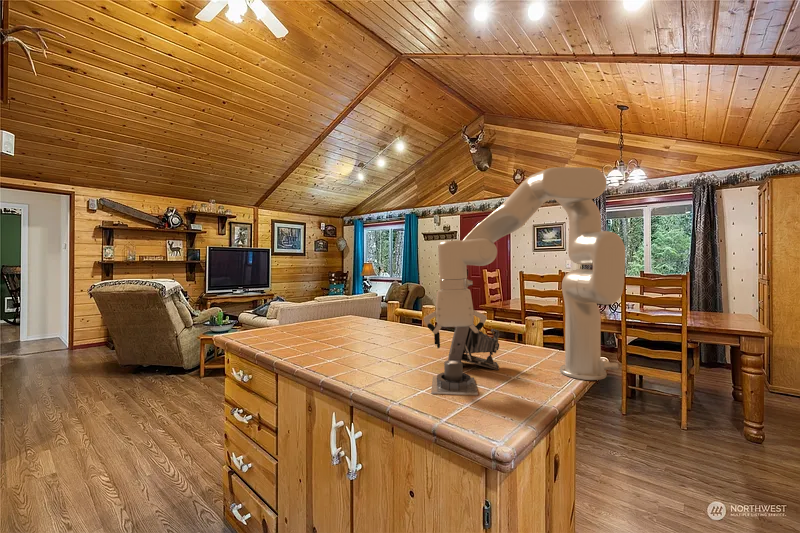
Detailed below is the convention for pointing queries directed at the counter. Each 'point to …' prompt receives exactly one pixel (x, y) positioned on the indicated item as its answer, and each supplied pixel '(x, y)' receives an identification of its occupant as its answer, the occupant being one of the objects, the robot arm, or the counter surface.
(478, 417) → the counter surface
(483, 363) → the camera
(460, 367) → the dark grey cylinder
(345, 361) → the counter surface
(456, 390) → the mount
